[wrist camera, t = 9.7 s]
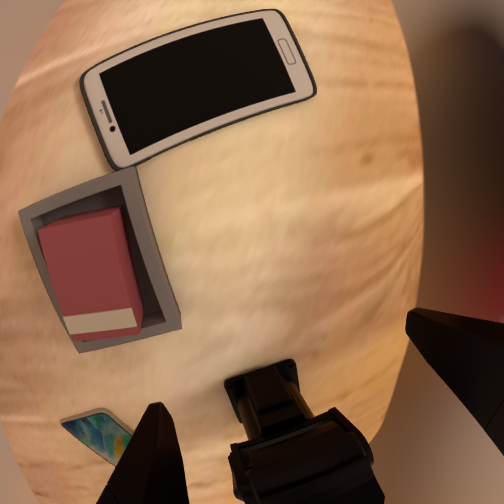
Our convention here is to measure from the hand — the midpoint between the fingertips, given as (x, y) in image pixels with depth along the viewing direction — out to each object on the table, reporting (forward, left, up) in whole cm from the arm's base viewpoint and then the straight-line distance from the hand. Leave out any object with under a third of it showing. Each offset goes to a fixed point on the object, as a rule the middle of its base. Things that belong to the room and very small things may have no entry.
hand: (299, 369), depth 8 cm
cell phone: (+12, -1, -13) cm, 17 cm away
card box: (+2, +9, -11) cm, 14 cm away
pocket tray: (+2, +9, -12) cm, 15 cm away
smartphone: (-19, +17, -13) cm, 29 cm away
